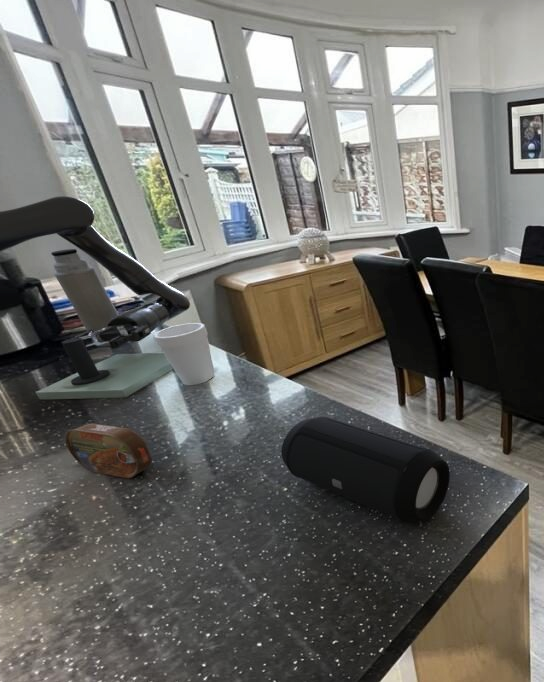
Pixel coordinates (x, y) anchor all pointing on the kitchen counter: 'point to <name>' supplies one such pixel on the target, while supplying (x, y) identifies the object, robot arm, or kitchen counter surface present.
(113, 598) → the kitchen counter surface
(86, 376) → the stopper
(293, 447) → the portable speaker
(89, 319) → the thermos bottle
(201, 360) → the foam cup
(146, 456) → the tin
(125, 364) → the plate
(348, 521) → the kitchen counter surface
